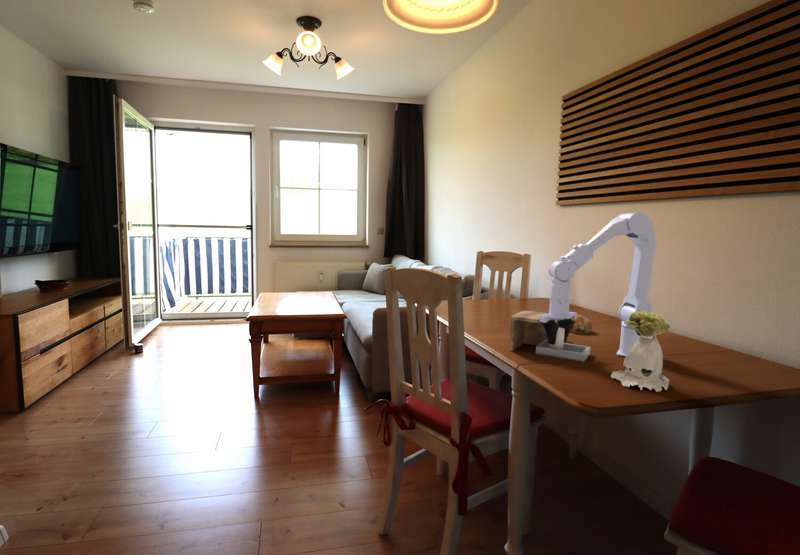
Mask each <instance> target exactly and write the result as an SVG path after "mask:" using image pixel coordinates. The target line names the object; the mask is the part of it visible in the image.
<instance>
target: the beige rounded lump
mask: <svg viewBox="0 0 800 555" xmlns="http://www.w3.org/2000/svg"><path fill="white" fill-rule="evenodd" d="M564 333H565V329H564V328H561V327H559V328H558V331H557V335H556V342H555V345H552V344H549V348H553V349H559V350H563V348H564Z"/></svg>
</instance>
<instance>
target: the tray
mask: <svg viewBox="0 0 800 555" xmlns="http://www.w3.org/2000/svg"><path fill="white" fill-rule="evenodd" d="M535 355H539V356H544V357H549V358H550V357H551V358H556V359H563V360H567V359H568V360H569V361H573V360H574V362H579V361H580V363H585V362H586V360H587V359H588V358H589V356H590V355H591V346H587V345H580V344H579V345H578V344H574V343H568V342H566V343H564V348H563V350H559V349H553V348H549V344H548V340H544V341H543V342H541V343H540V344H539V345H535ZM584 361H585V362H584Z"/></svg>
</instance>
